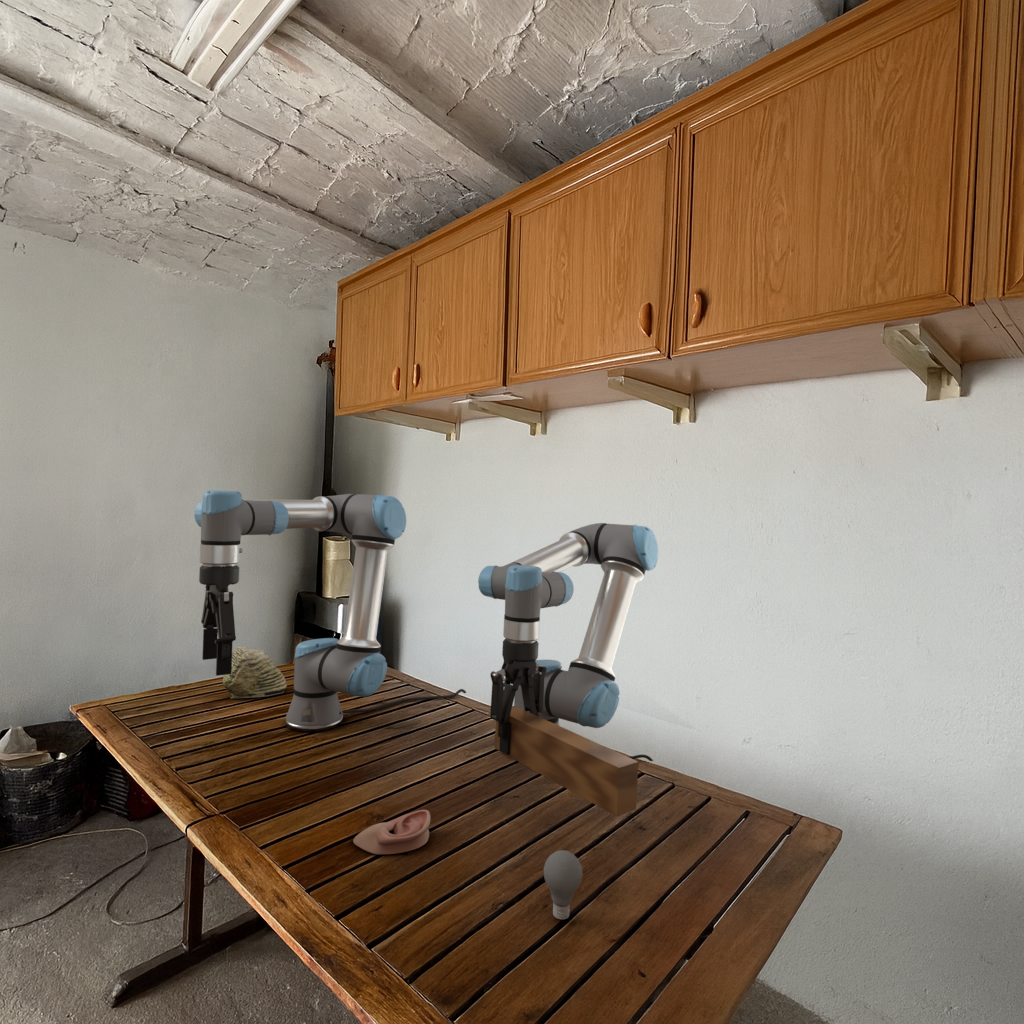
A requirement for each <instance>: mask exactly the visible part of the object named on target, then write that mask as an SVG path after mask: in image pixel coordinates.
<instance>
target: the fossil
mask: <svg viewBox="0 0 1024 1024" xmlns="http://www.w3.org/2000/svg"><path fill="white" fill-rule="evenodd" d="M222 676H223V677H222V685H223V687H224V688H225V690H226V691H228V693H229V698H230V699H250V698H264V697H271V696H275V695H281V694H284V693H285V691H286V689H287V687H288V686H287V680H286V678H285V676H284V674H283V673H282V672H281V669H279V668H278V667H277V665H276V663H275V662H274V660H273V659H272V658H271V657H270V656H269V655H268V654H267V653H266V652H265V650H264V649H263V648H260V647H258V648H251V647H247V646H246V647H245V646H238V647H237V648H236V649H235V650H233V651H232V668H231V674H227V675H222Z"/></svg>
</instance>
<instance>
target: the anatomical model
mask: <svg viewBox="0 0 1024 1024" xmlns="http://www.w3.org/2000/svg"><path fill="white" fill-rule="evenodd" d="M430 824H431V813H430V811H429V810H428V809H420V810H419V809H418V810H416V811H412V812H409V813H405V814H403V815H401V816H398V817H396V818H394V819H391V820H389V821H385V822H378V823H375V824H373V825H370V826H369V827H367V828H365V829H364V830H362V831H360V832H359V833H358V834H357V835H355V837H354V838H353V839H352V842H353V844H354V845H355V846H356V847H358V848H360V849H362V850H363V851H365V852H368V853H369V854H374V855H378V856H379V855H393V854H400V853H402V854H403V853H406V852H410V851H413V850H417V849H419V848H421V847H422V846H424V845H426V844H427V842H428V841H429V838H430V830H429V827H430Z"/></svg>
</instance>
